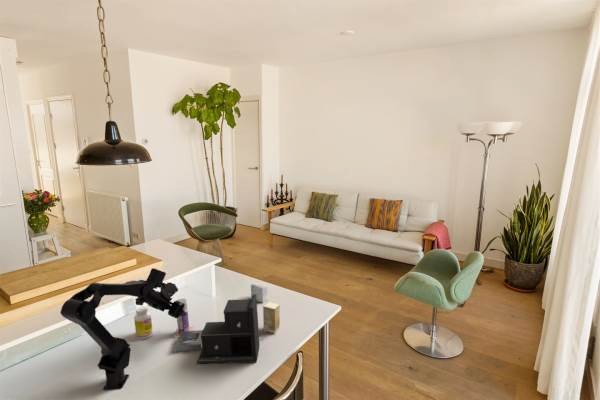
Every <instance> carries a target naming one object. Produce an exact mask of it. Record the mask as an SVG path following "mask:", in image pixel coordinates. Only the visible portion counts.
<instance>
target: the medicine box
mask: <svg viewBox="0 0 600 400" xmlns="http://www.w3.org/2000/svg"><path fill="white" fill-rule="evenodd" d="M250 293H251V294H250V296H251V298H252V295H254V294H256V296H257V298H256V299H257V303H262V304H264V303H266V302H268V300H269V294H268V293H269V292H268V285H267V284H265V283H261V282H258V281H255V282H253V283H252V284H250ZM251 298H250V299H251Z"/></svg>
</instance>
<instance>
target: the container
mask: <svg viewBox="0 0 600 400" xmlns="http://www.w3.org/2000/svg"><path fill="white" fill-rule="evenodd" d="M176 301H179V302H182V303H183V304H185V306H184V308H183V310H184V311H185V312H186V313H187V314H186V316H181V317H178V318H177V319H176V322H177V329H178V333H179V335H180V334H181V332H183V331H189V327H190V324H189V321H190V320H189V313H188V303H187V299H186V298H179V299H176Z"/></svg>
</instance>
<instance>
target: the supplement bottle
mask: <svg viewBox="0 0 600 400" xmlns="http://www.w3.org/2000/svg"><path fill="white" fill-rule="evenodd" d="M135 313H136V314H135V315H134V317H133V320H134V329H135V336H136V339H138V340H146V339H149V338H150V337H152V335H153V333H154V331H153V323H152V314H151V312H150V311H149V308H148V306H146V305H144V306H143V305H141V306H139V307H137V308H136V309H135Z"/></svg>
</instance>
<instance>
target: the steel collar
mask: <svg viewBox="0 0 600 400" xmlns="http://www.w3.org/2000/svg"><path fill="white" fill-rule="evenodd" d="M202 331H203V329H200V330H193V331H183V332H181V334H180V336H179V338H177V341H176V343H175V346H174V348H175V353H188V352H189V353H190V352H201V351H202V340H201V333H202ZM192 340H196V341H192Z"/></svg>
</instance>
